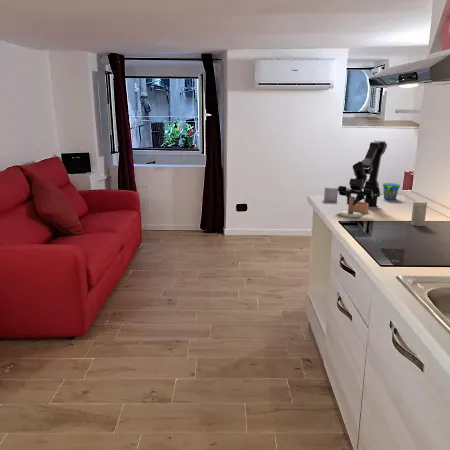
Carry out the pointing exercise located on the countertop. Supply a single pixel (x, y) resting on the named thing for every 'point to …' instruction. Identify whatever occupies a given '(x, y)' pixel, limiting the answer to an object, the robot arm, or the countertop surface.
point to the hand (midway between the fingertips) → (350, 204)
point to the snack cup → (390, 190)
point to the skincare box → (418, 213)
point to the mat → (351, 217)
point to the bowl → (361, 207)
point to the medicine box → (330, 194)
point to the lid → (350, 210)
